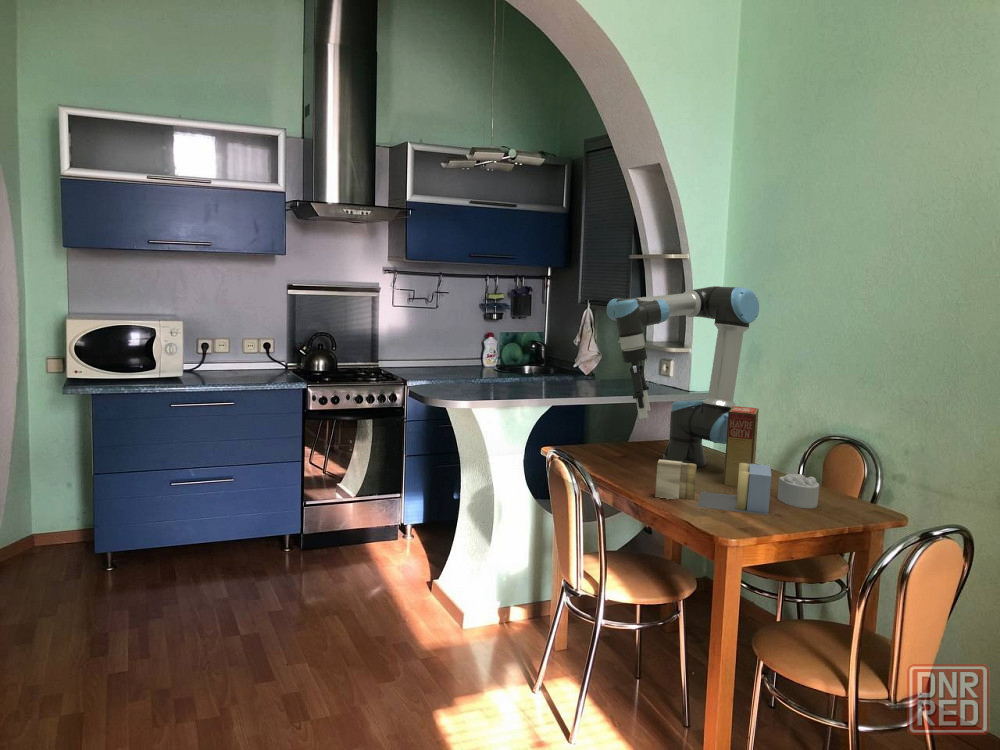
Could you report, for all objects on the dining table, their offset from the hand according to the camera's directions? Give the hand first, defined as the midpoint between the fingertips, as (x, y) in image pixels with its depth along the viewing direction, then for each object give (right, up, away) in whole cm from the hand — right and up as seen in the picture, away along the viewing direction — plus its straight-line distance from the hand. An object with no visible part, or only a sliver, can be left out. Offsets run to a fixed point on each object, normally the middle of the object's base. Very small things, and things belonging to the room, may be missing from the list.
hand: (645, 414), depth 264 cm
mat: (+24, -27, -12) cm, 38 cm away
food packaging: (+33, -24, +14) cm, 43 cm away
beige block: (+8, -25, -8) cm, 28 cm away
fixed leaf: (+30, -26, -14) cm, 42 cm away
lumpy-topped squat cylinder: (+46, -27, -9) cm, 54 cm away
